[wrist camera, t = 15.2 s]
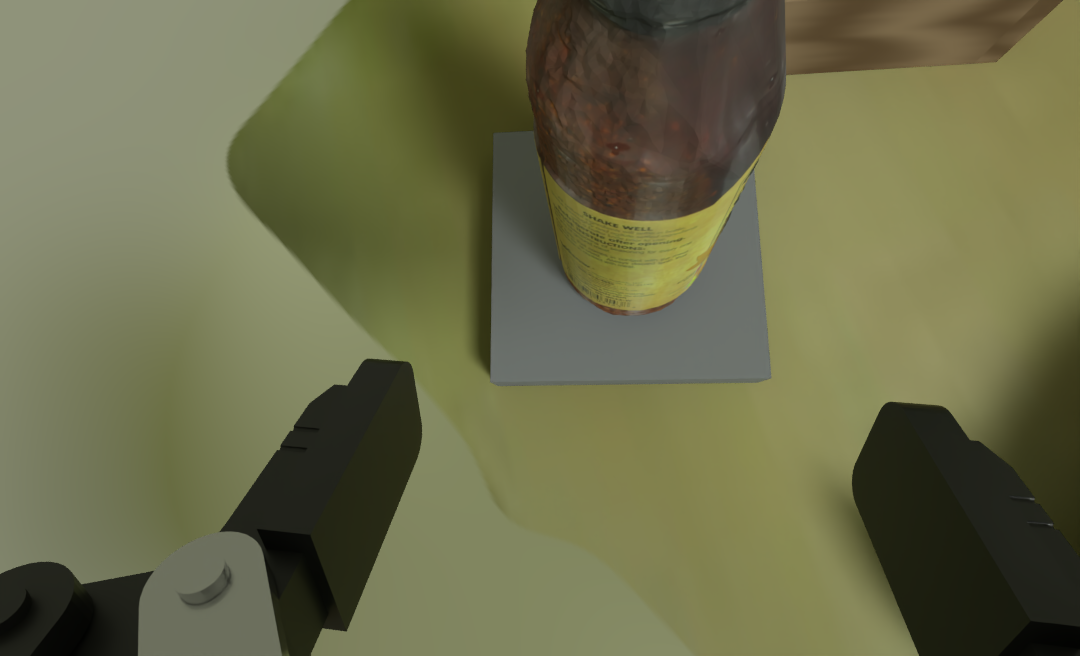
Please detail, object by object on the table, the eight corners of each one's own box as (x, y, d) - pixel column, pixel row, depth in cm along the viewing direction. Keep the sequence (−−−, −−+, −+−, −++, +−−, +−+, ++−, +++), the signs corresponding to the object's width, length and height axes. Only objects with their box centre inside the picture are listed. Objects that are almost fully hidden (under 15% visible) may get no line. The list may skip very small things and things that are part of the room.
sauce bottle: (720, 294, 24) (1233, -290, 5) (584, 340, 24) (552, -49, 5) (667, 165, 26) (899, -689, 6) (539, 209, 26) (377, -493, 6)
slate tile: (738, 141, 28) (749, 118, 26) (757, 382, 25) (771, 378, 23) (500, 153, 29) (493, 132, 27) (498, 385, 26) (490, 382, 25)
